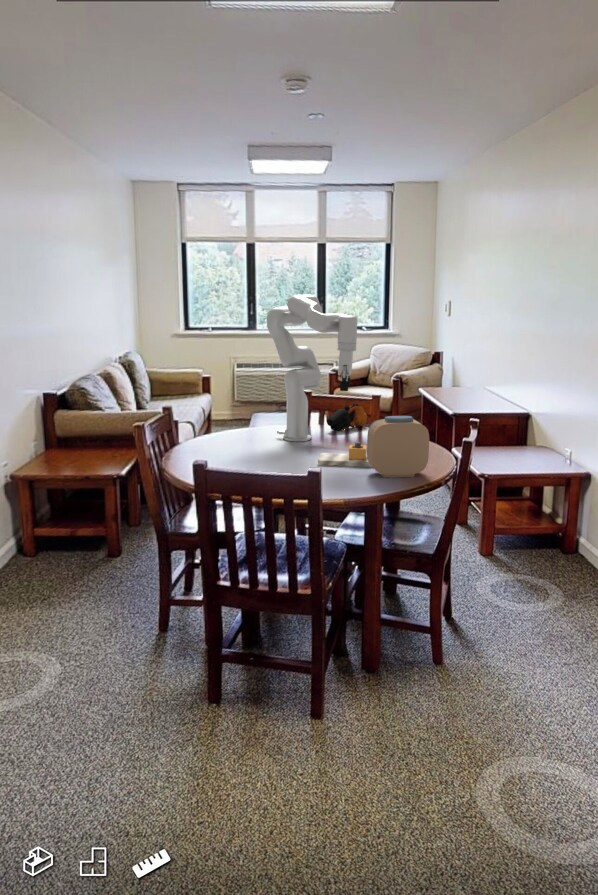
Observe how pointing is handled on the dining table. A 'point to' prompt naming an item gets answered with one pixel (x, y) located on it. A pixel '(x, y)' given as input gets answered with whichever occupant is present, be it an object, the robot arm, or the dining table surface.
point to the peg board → (342, 459)
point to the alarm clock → (398, 446)
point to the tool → (347, 418)
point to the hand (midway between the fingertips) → (344, 388)
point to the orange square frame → (357, 452)
